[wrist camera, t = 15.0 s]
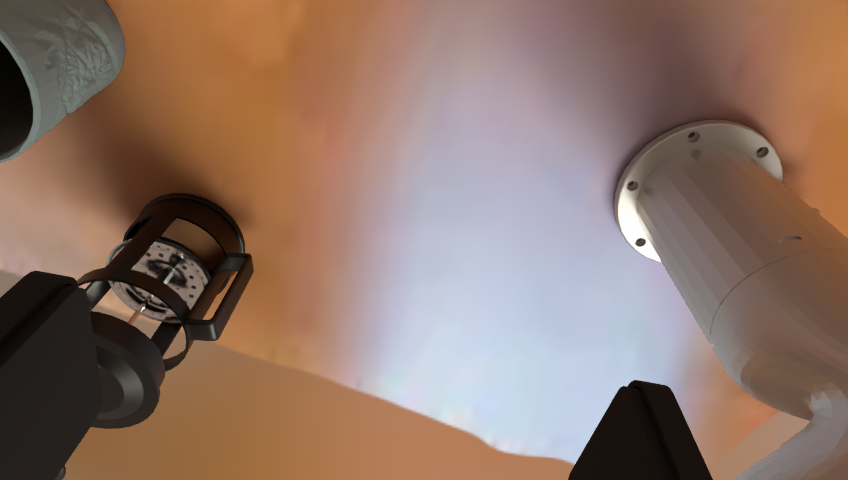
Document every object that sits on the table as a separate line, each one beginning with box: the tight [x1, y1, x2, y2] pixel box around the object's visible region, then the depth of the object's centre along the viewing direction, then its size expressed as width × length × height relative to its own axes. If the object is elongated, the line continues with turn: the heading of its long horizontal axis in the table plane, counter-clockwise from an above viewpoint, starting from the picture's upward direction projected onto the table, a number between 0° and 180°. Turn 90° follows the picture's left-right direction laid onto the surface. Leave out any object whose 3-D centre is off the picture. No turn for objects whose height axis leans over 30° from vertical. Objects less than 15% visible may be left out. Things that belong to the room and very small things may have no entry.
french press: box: [55, 193, 254, 480], centre depth 38 cm, size 12×9×23 cm
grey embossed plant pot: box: [0, 0, 125, 163], centre depth 34 cm, size 10×10×12 cm
